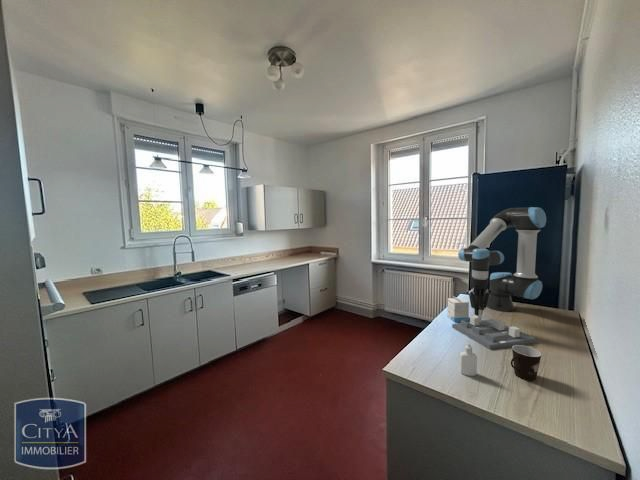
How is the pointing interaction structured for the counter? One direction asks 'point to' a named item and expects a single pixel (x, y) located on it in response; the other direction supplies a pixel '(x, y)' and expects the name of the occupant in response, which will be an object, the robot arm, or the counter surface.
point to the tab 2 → (499, 325)
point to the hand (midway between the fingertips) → (478, 320)
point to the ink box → (458, 309)
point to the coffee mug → (525, 362)
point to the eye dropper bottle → (468, 362)
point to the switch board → (491, 334)
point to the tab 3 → (514, 332)
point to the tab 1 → (474, 320)
